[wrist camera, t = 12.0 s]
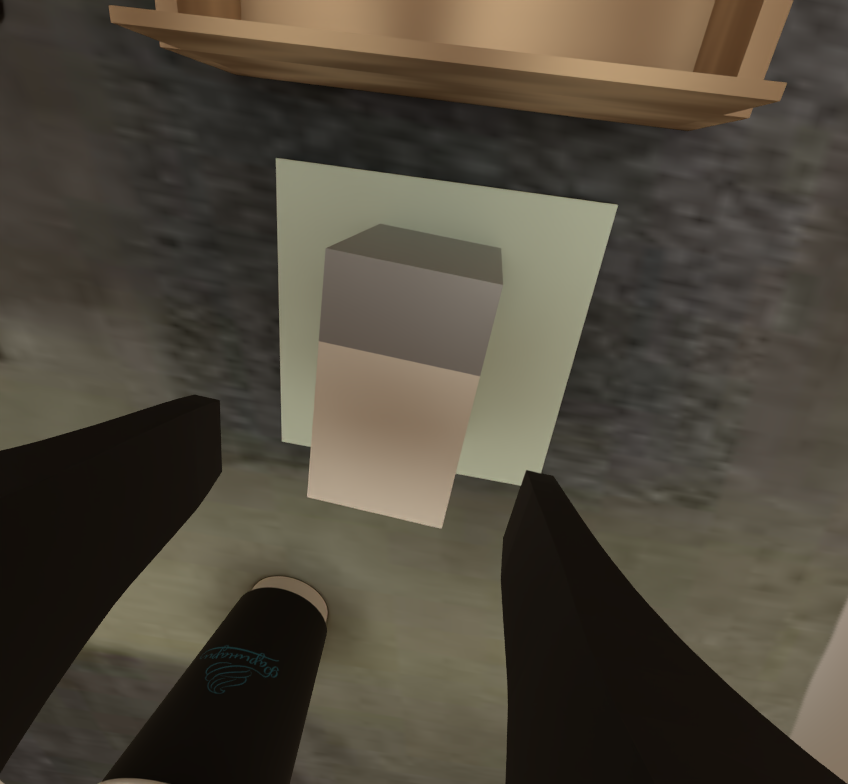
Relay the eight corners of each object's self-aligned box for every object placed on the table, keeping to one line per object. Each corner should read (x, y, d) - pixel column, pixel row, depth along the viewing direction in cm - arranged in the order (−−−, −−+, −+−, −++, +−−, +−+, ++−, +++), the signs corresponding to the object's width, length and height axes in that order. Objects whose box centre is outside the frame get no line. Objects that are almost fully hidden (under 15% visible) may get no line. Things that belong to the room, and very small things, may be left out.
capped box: (357, 411, 20) (307, 497, 15) (379, 223, 17) (325, 247, 11) (456, 433, 20) (441, 528, 15) (501, 248, 17) (503, 285, 11)
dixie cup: (299, 538, 25) (172, 776, 15) (379, 632, 27) (313, 889, 18) (199, 578, 28) (36, 803, 18) (280, 661, 30) (175, 899, 20)
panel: (286, 436, 22) (281, 441, 22) (281, 158, 17) (275, 158, 16) (535, 481, 21) (536, 488, 21) (614, 204, 16) (617, 205, 15)
